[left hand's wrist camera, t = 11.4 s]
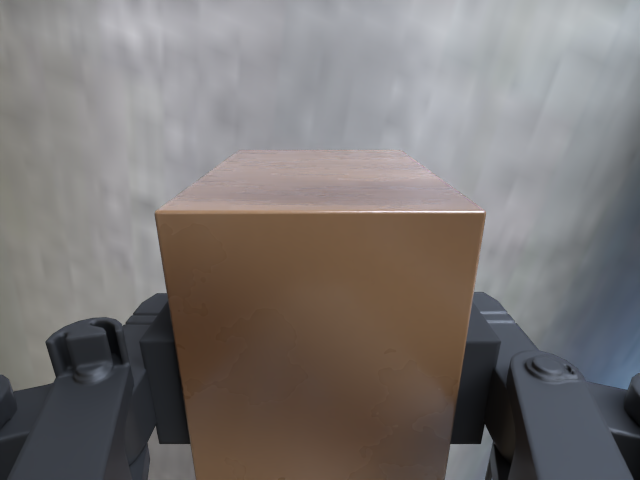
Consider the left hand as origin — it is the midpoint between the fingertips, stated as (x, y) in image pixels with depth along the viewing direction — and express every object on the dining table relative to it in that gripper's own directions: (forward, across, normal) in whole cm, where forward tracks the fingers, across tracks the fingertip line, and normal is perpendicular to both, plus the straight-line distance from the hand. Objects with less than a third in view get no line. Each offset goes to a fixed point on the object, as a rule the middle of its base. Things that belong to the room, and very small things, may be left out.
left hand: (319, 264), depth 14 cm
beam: (0, 0, -21) cm, 21 cm away
